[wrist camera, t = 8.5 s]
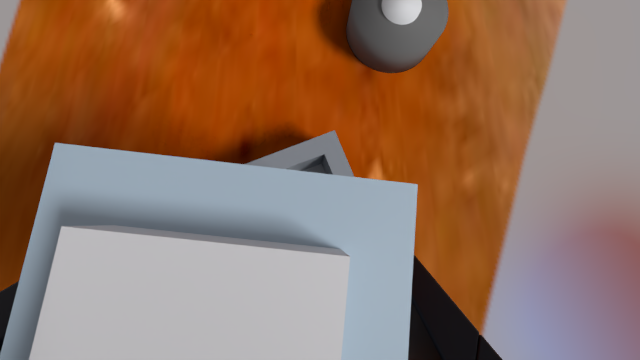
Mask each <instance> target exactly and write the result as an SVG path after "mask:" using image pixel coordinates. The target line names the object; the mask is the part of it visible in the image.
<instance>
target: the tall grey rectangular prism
mask: <svg viewBox="0 0 640 360" xmlns="http://www.w3.org/2000/svg"><path fill="white" fill-rule="evenodd" d="M417 187H418V184H410V183H401V182H393V181H384V180H375V179H366V178H358V177H349V176H340V175H332V174H323V173H314V172H306V171H297V170H288V169H279V168H271V167H262V166H253V165H245V164H236V163H227V162H219V161H210V160H201V159H192V158H184V157H175V156H166V155H158V154H149V153H140V152H132V151H123V150H114V149H105V148H97V147H88V146H79V145H71V144H62V143H55V145H54V149H53V152H52V156H51V160H50V164H49V168H48V172H47V176H46V179H45V183H44V187H43V191H42V195H41V199H40V203H39V206H38V210H37V214H36V218H35V222H34V226H33V230H32V233H31V237H30V241H29V245H28V249H27V253H26V257H25V261H24V264H23V268H22V272H21V276H20V280H19V284H18V288H17V291H16V295H15V299H14V303H13V307H12V311H11V315H10V318H9V322H8V326H7V330H6V334H5V338H4V342H3V345H2V349H1V353H0V360H408V349H409V331H410V313H411V295H412V277H413V259H414V241H415V223H416V205H417Z"/></svg>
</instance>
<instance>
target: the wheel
mask: <svg viewBox="0 0 640 360" xmlns="http://www.w3.org/2000/svg"><path fill="white" fill-rule="evenodd" d="M447 20H448V4H447V0H352V4H351V8H350V13H349V17H348V22H347V28H346V33H347V40H348V43H349V46H350V48H351V50H352V52H353V53H354V54H355V56H356V57H357V58H358V59H359V60H360V61H361V62H362V63H364V64H365V65H367V66H368V67H370V68H372V69H374V70H377V71H380V72H385V73H398V72H403V71H407V70H409V69H411V68H413V67H414V66H416V65H417V64H418V63H420V62H421V61H422V59H423V58H424V57H425V56H426V54H427V53H428V52H429V50H430V49H431V48H432V46H433V45H434V43H435V42H436V41H437V39H438V38H439V37H440V35H441V34H442V32H443V31H444V29H445V26H446V23H447Z"/></svg>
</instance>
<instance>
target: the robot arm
mask: <svg viewBox="0 0 640 360" xmlns="http://www.w3.org/2000/svg"><path fill="white" fill-rule="evenodd" d="M18 284H19V281H18V282H16V283H15V284H13V285H11V286H10V287H8V288H6V289H4V290H3V291H1V292H0V353H1V349H2V345H3V342H4V338H5V334H6V330H7V326H8V322H9V318H10V315H11V311H12V307H13V303H14V299H15V295H16V291H17V288H18ZM408 360H502V358H501V357H500V356H499V355H498V354H497V353H496V352H495V350H494V349H493V348H492V347H491V346H490V345H489V343H488V342H487V341H486V340H485V339H484V337H483V336H482V335H479V332H478V330H477V329H476V328H475V327H474V326H473V324H472V323H471V322H470V321H469V320H468V318H467V317H466V316H465V315H464V314H463V312H462V311H461V310H460V309H459V308H458V307H457V305H456V304H455V303H454V302H453V301H452V299H451V298H450V297H449V296H448V295H447V293H446V292H445V291H444V290H443V289H442V287H441V286H440V285H439V284H438V283H437V281H436V280H435V279H434V278H433V277H432V275H431V274H430V273H429V272H428V271H427V270H426V268H425V267H424V266H423V265H422V264H421V262H420V261H419V260H418V259H417V258H416V256H415V255H414V259H413V277H412V295H411V313H410V331H409V349H408Z"/></svg>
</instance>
